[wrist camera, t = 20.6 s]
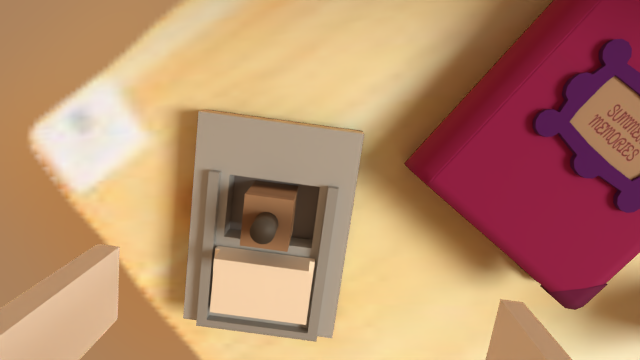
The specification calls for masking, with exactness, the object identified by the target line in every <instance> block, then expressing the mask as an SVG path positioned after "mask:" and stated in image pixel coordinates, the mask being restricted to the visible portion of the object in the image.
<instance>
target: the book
mask: <svg viewBox="0 0 640 360" xmlns="http://www.w3.org/2000/svg"><path fill="white" fill-rule="evenodd" d="M404 164H405V165H406V166H407V167H408V168H409V169H410V170H411V171H412V172H413V173H414V174H415V175H416V176H417V177H419V178H420V179H421V180H422V181H423V182H424V183H425V184H426V185H428V186H429V187H430V188H431V189H432V190H433V191H434V192H436V193H437V194H438V195H439V196H440V197H441V198H442V199H444V200H445V201H446V202H447V203H448V204H449V205H450V206H452V207H453V208H454V209H455V210H456V211H457V212H458V213H460V214H461V215H462V216H463V217H464V218H465V219H466V220H468V221H469V222H470V223H471V224H472V225H473V226H475V227H476V228H477V229H478V230H479V231H480V232H481V233H483V234H484V235H485V236H486V237H487V238H488V239H489V240H491V241H492V242H493V243H494V244H495V245H496V246H497V247H499V248H500V249H501V250H502V251H503V252H504V253H505V254H507V255H508V256H509V257H510V258H511V259H512V260H513V261H515V262H516V263H517V264H518V265H519V266H520V267H521V268H522V269H523V270H524V271H525V272H527V273H528V274H529V275H530V276H531V277H532V278H533V279H535V280H536V281H537V282H539V283H540V284H541V287H542V288H543V289H544V290H545V291H546V292H548V293H549V294H550V295H551V296H552V297H553V298H554V299H555V300H557V301H558V302H559V303H560V304H561V305H562V306H564V307H565V308H568V309H574V310H576V309H578V308H581V307H583V306H584V305H585V304H586V303H588V302H589V301H590V300H591V299H592V298H593V297H594V296H595V295H596V294H597V293H599V292H600V291H601V290H602V289H603V288H604V287H605V286H606V285H607V284H606V283H607V282H608V281H609V280H610V279H611V278H612V277H613V276H614V275H615V274H617V273H618V272H619V271H620V270H621V269H622V268H623V267H624V266H625V265H626V264H628V263H629V262H630V261H631V260H632V259H633V258H634V257H635V256H636V255H637V254H638V253H640V0H553V1H552V3H551V4H550V5H549V6H548V7H547V8H546V9H545V10H544V11H543V12H542V14H541V15H540V16H539V17H538V18H537V19H536V20H535V21H534V22H533V23H532V24H531V26H530V27H529V28H528V29H527V30H526V31H525V32H524V33H523V34H522V35H521V36H520V38H519V39H518V40H517V41H516V42H515V43H514V44H513V45H512V46H511V47H510V48H509V50H508V51H507V52H506V53H505V54H504V55H503V56H502V57H501V58H500V59H499V61H498V62H497V63H496V64H495V65H494V66H493V67H492V68H491V69H490V70H489V71H488V73H487V74H486V75H485V76H484V77H483V78H482V79H481V80H480V81H479V82H478V83H477V85H476V86H475V87H474V88H473V89H472V90H471V91H470V92H469V93H468V94H467V96H466V97H465V98H464V99H463V100H462V101H461V102H460V103H459V104H458V105H457V106H456V108H455V109H454V110H453V111H452V112H451V113H450V114H449V115H448V116H447V117H446V118H445V120H444V121H443V122H442V123H441V124H440V125H439V126H438V127H437V128H436V129H435V130H434V132H433V133H432V134H431V135H430V136H429V137H428V138H427V139H426V140H425V141H424V143H423V144H422V145H421V146H420V147H419V148H418V149H417V150H416V151H415V152H414V153H413V155H412V156H411V157H410V158H409V159H408V160H407V161H406V162H405V163H404Z"/></svg>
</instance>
